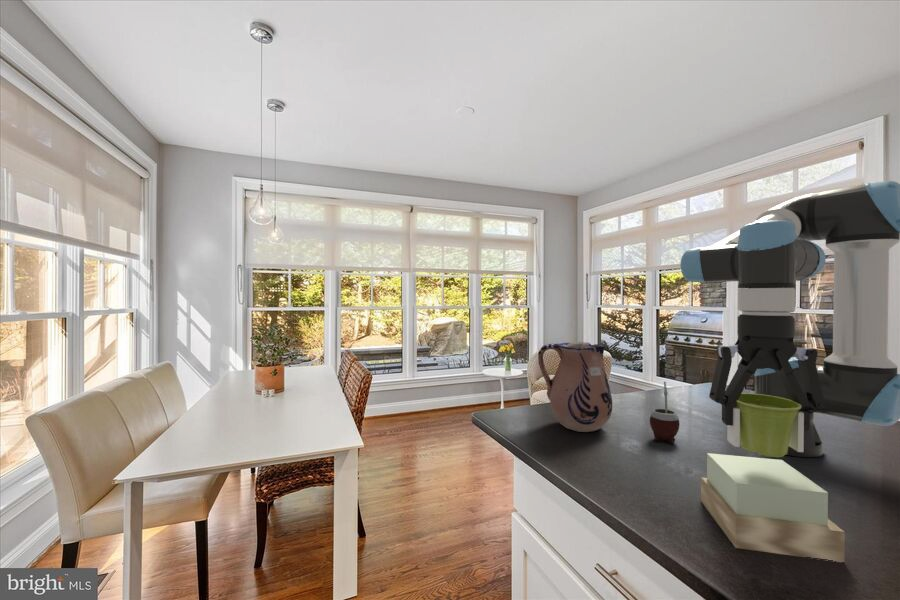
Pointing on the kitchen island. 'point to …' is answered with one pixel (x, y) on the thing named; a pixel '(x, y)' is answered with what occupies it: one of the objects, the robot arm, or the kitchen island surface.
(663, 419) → the mate gourd
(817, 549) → the lower block
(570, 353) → the ceramic pitcher
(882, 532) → the kitchen island surface
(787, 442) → the plant pot
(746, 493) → the upper block
